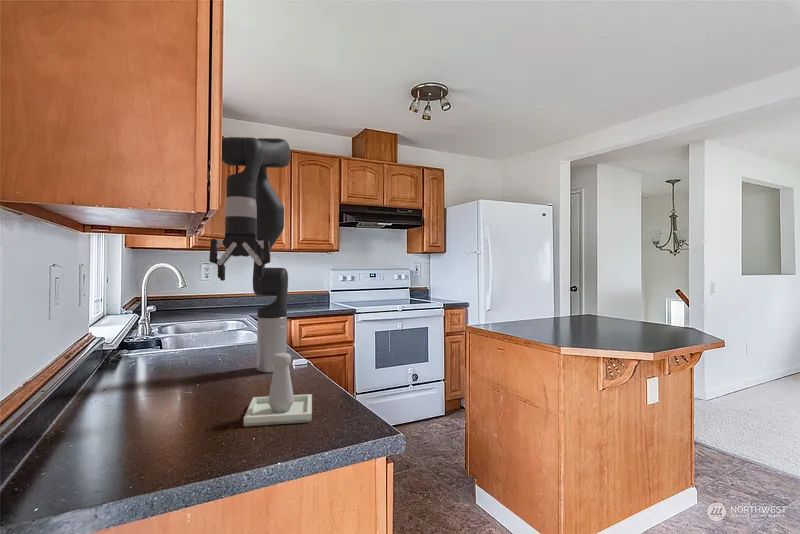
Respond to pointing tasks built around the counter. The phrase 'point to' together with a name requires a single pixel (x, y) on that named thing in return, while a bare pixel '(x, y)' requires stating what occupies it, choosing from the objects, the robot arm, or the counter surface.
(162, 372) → the counter surface
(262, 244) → the robot arm
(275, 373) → the salt shaker
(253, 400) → the tray
